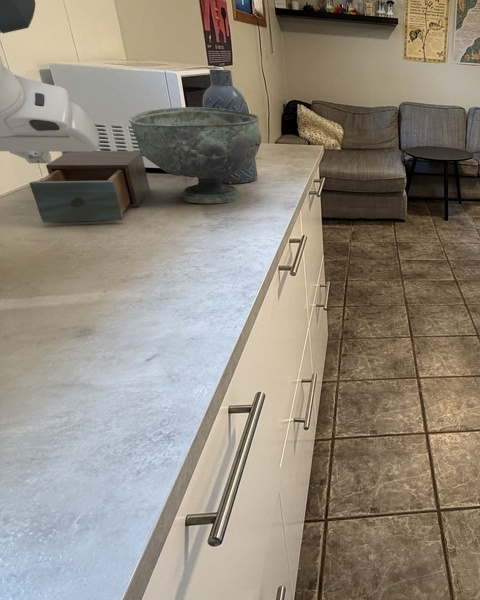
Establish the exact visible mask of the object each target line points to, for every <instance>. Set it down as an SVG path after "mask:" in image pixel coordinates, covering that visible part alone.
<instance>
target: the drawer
mask: <svg viewBox="0 0 480 600" xmlns="http://www.w3.org/2000/svg"><path fill="white" fill-rule="evenodd" d="M29 186H30V190H31V192H32V195H33V198H34V201H35V204H36V206H37V210H38V213H39V216H40V219H41V221H42V223H43V224H44V223H47V224H48V223H71V222H72V223H73V222H97V221H99V222H100V221H121V220H124V219H125V217H124V211H125V210H126V209H127V208H126V207H127V206H128V205H129V203H130V202H131V201H132V197H131V193H130V189H129V185H128V181H127V177H126V173H125V168H119V169H57V170H55V171H54V172H52V173H51V174H49V173H48V174H47V175H46V176H44V177H43V178H42V179H40V180H39V181H30V182H29Z"/></svg>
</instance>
